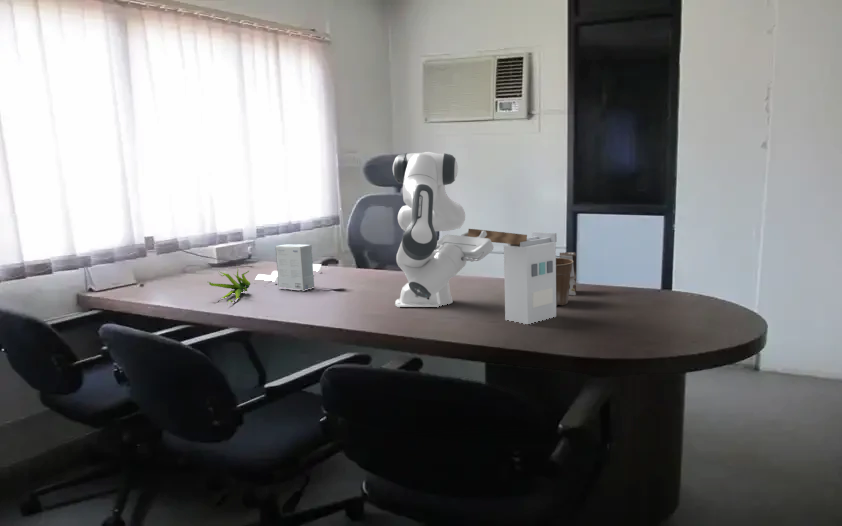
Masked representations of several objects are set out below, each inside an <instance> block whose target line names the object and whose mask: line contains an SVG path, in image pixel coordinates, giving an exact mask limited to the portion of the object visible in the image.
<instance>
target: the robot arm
mask: <svg viewBox="0 0 842 526" xmlns="http://www.w3.org/2000/svg"><path fill="white" fill-rule="evenodd" d="M392 173H393V177H394V180H395V181H396V182H397V183H398V184H401V185H402V199H403V203H404V204H405V205H402V206H401V208H400V209H399V211H398V214H397V222H398V225H399V227H400V228H401V230H403V231H404V232H403V235H402V238H401V242H400V244H399V247H398V250H397V253H396V254H395V255H396V256H395V261H396V265H397V267H398V268H399V269H400V270H401V271H402V272H403V273H404V275H405V277H406V279H407V282H406V283H405V284H404V285H403V286H402V288H401V291H400V295H399V298H397V299H396V300H395V303H394V306H395V307H396V308H400V307H437V308H440V307H443V306H448V305H450V304H453V302H454V301H453V298H452V294H451V288H450V282H449V281H450V279H452V278H453V277H455V276H456V275H457V274H458V273H459V272H460V271H461V270H462V269H464V267H465V266H466V265H467V262H479V261H481V260H483V259H484V258H485V257H487V256H488V255H489V254H490V253H491V252H492V251H493V250H494V244H493V242H491V240H490V239H489V238H485V237H486V236H487V233H486V231H481V232H479V236H477V237H468V231H467V232H464V233H462V234H461V235H455V234H446V235H443V236H441V238H439V239H438V237H437V236H438V235H437V234H436V232H450V231H453V230H458V229H460V228H462V227H463V225H464V223H465V220H466V212H465V209H464V207H463V206H462V205H461V204H460V203H458V202H456V201H454V200H453V199H451V198H450V197H449V196H448V194H447V192H446V187H445V186H447V185H451V184H453V183H454V182H455V181H456V178H457V176H458V173H459V166H458V162H457V159H456V157H454V155H452V154H449V153H444V154H443V153H438V152H432V151H424V152H415V153H414V152H412V153H408V152H405V153H400V154H398V155H396V157H395V158H394V161H393V164H392ZM447 304H448V305H447ZM442 305H443V306H442ZM439 306H440V307H439Z"/></svg>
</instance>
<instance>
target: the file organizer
mask: <svg viewBox="0 0 842 526" xmlns="http://www.w3.org/2000/svg"><path fill="white" fill-rule="evenodd" d="M322 269H323V268H322V264H319V263H313V271H316V272H318V271H322V272H323V270H322ZM254 280H264V281H272V282H276V281H278V273H277V270H273V271H271V274H262V273H258V274H257V275H256V277H255V279H254Z"/></svg>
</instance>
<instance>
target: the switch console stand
mask: <svg viewBox="0 0 842 526" xmlns="http://www.w3.org/2000/svg"><path fill="white" fill-rule="evenodd" d="M557 235H558V234H557V232H547V231H546V232H543V231H531V237H527V241H524V242H520V245H517V244H504V245H503V269H504V270H503V271H504V272H503V273H504V274H503V275H504V280H503V281H504V315H505V316H504V320H505V321H507V320H509V321H508V322H511V321H514V322H513V323H516V322H519V323H518V324H521V323H523V324H522V325H525V324H530V325H532V324H531V323H533V324H535V323H534V322H536V323H539V322H538V321H540V322H542V320H543V321H547V320H550V319H553V317H554V318H556V317H557V306H556V258H557V255H556V254H557V252H556V250H557V249H556V247H557V239H558V238H557ZM549 318H550V319H549ZM546 319H547V320H546Z"/></svg>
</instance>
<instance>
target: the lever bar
mask: <svg viewBox="0 0 842 526" xmlns="http://www.w3.org/2000/svg"><path fill="white" fill-rule="evenodd" d="M481 231H486V233H487V236H486V237H485V238H489V239H490V240H491V242H492V243H498V244H505V245H507V244H517V245H520V242H524V241H527V238H528V235H527V234H523V233H521V234H520V233H514V232H513V233H512V232H506V231H505V232H504V231H495V230H485V229H475V228H468V231H467V232H468V237H477V236H479V232H481Z"/></svg>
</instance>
